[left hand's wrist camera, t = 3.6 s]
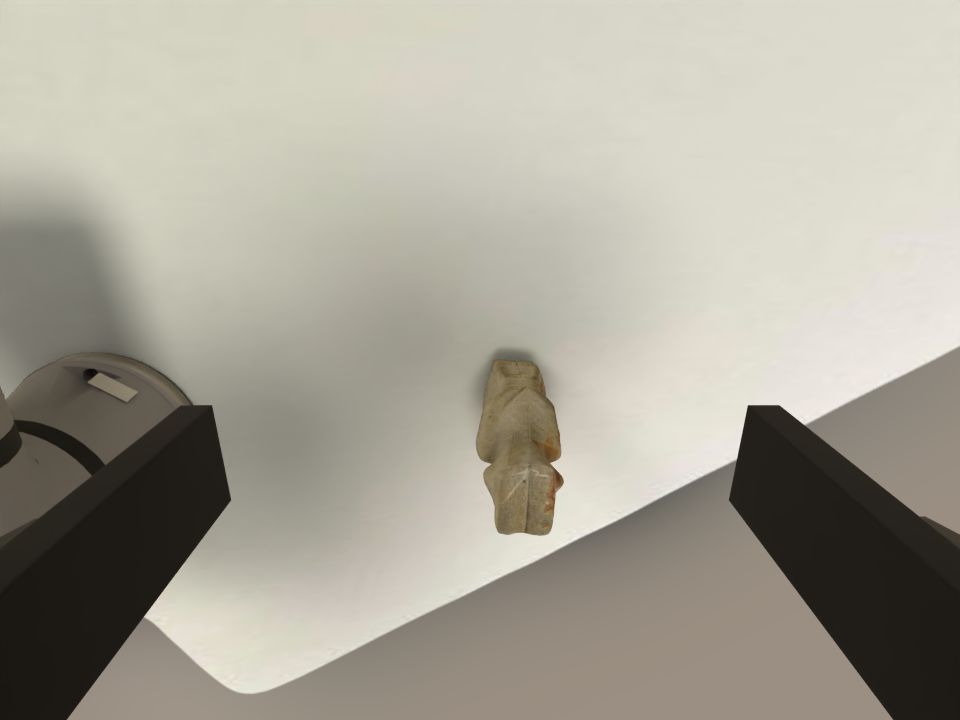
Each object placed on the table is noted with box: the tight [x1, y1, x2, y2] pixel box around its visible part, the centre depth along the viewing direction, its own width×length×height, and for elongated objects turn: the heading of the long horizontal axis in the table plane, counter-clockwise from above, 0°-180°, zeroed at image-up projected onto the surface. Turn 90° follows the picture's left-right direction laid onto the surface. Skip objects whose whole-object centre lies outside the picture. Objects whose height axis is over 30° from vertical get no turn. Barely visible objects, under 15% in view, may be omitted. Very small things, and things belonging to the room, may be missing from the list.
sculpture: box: [476, 360, 564, 536], centre depth 36 cm, size 6×7×15 cm
